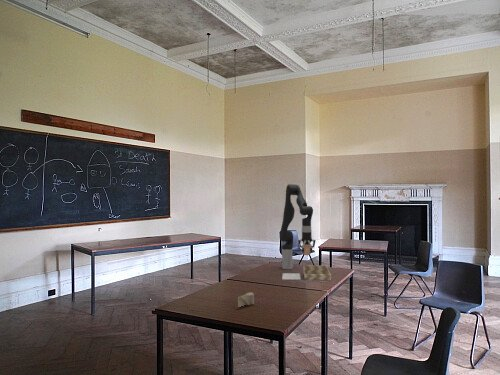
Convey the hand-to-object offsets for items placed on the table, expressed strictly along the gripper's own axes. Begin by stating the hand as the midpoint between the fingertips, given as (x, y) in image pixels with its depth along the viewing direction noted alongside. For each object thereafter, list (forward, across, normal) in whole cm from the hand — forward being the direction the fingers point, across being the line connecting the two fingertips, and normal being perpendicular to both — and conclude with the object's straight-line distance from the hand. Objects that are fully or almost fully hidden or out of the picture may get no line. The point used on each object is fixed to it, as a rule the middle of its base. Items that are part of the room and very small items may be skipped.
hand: (306, 252), depth 290 cm
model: (+19, +41, +78) cm, 91 cm away
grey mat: (+19, +13, 0) cm, 23 cm away
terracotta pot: (+1, 0, 0) cm, 1 cm away
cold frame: (+19, -7, +1) cm, 20 cm away
